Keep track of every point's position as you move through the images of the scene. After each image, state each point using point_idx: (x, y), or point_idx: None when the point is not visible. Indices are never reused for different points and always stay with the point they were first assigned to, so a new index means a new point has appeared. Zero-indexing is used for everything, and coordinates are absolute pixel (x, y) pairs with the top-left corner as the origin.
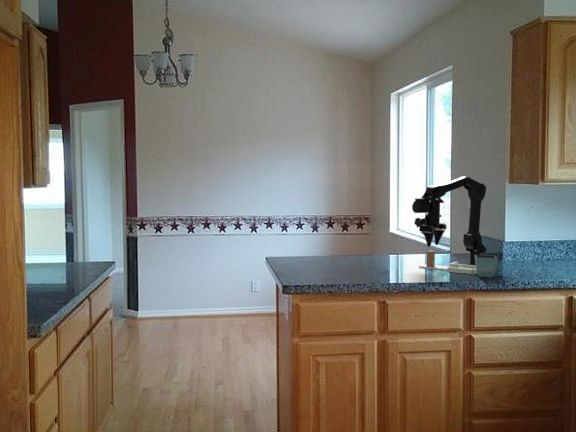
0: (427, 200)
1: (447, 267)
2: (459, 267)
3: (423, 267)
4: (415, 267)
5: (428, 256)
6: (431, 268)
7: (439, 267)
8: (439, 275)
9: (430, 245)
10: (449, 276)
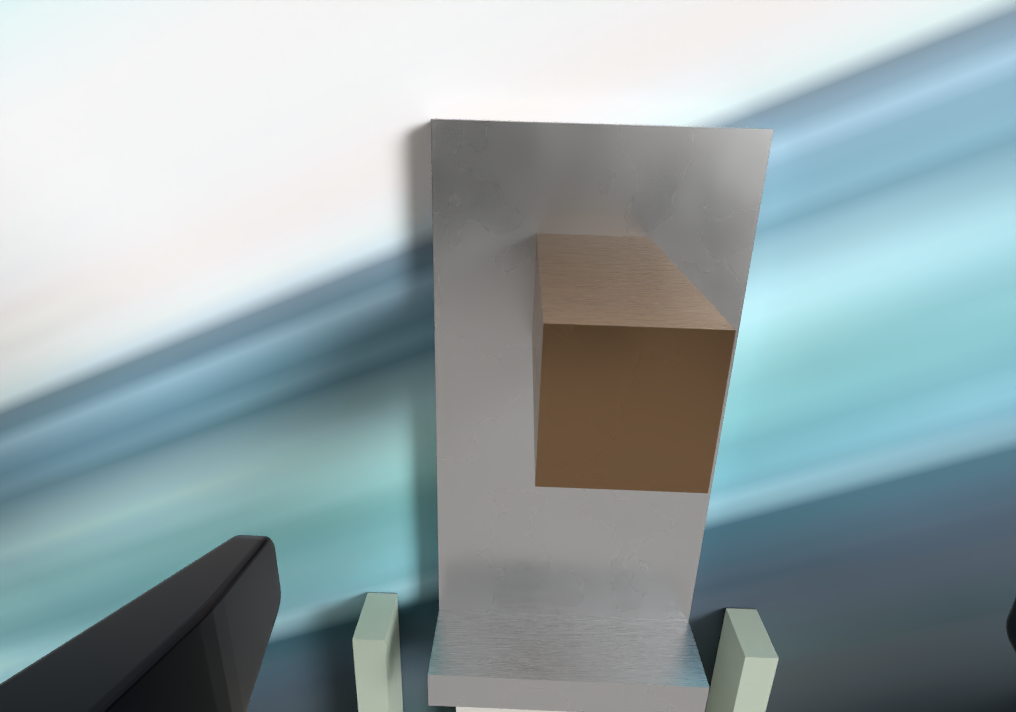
0: None
1: (575, 550)
2: None
3: (434, 210)
4: (447, 29)
5: (537, 324)
6: (436, 354)
7: (501, 463)
8: (38, 593)
9: (262, 651)
10: None
